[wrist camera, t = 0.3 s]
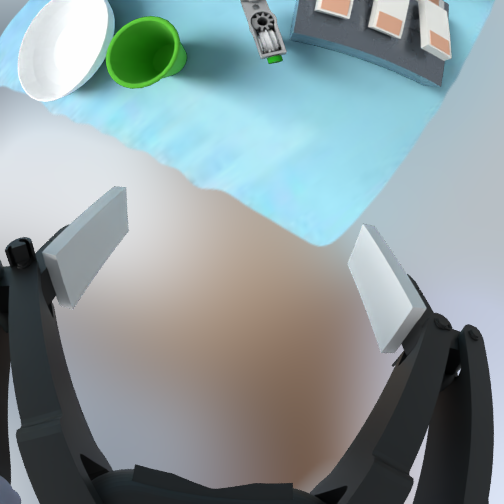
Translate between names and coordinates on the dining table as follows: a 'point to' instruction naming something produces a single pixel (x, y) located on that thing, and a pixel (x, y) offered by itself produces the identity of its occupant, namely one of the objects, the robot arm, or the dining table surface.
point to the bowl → (64, 47)
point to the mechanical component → (264, 30)
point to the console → (370, 39)
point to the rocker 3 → (434, 30)
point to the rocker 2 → (389, 16)
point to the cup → (145, 52)
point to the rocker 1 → (335, 7)
